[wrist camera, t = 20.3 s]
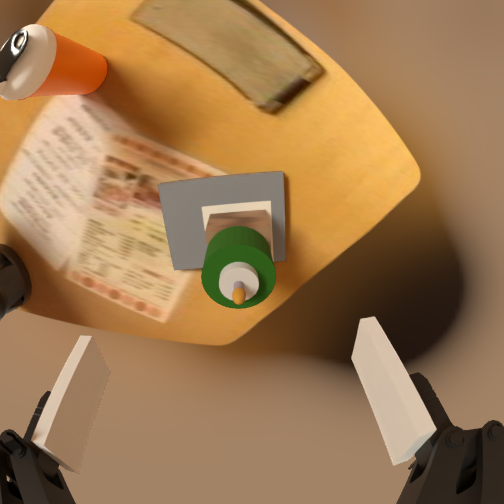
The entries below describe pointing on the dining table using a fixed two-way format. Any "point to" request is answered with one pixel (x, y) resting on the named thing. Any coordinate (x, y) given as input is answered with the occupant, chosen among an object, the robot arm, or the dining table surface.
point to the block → (239, 223)
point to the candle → (238, 268)
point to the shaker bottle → (47, 65)
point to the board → (219, 211)
